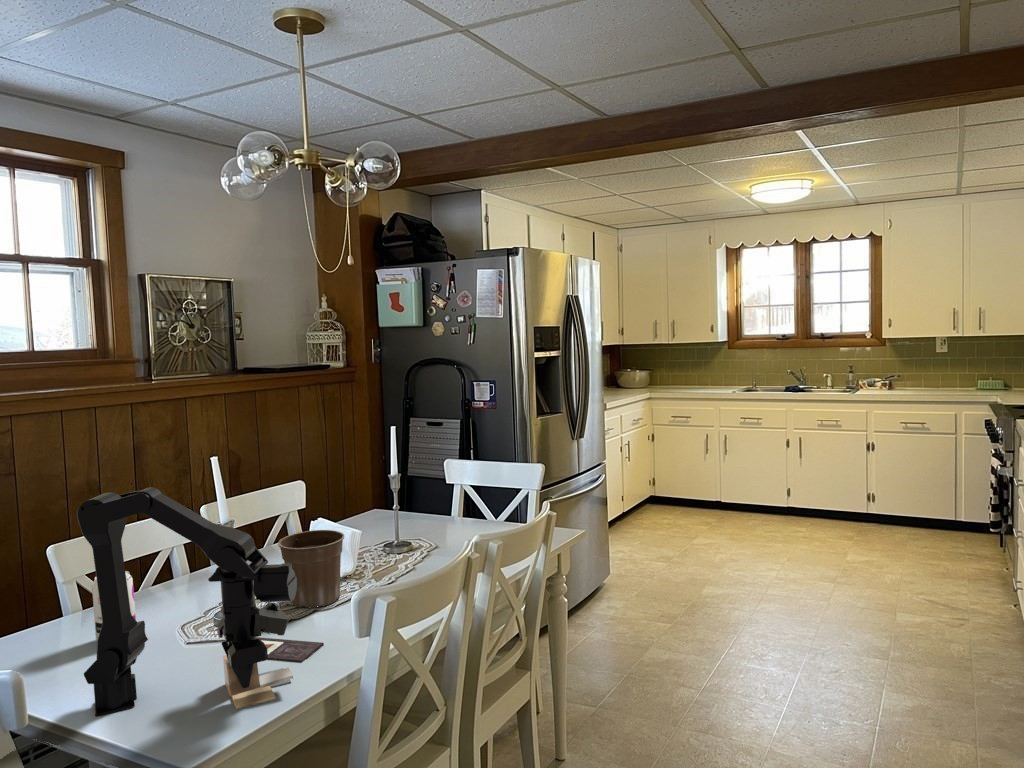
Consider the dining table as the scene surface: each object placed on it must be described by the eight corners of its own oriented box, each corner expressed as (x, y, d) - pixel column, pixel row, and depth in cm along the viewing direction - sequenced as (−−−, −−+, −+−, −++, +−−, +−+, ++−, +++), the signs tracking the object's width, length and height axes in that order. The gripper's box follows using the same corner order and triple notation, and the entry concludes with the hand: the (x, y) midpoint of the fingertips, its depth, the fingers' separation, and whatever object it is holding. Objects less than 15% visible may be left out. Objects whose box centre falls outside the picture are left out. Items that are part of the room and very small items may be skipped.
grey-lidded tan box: (232, 696, 141) (229, 670, 140) (229, 688, 144) (225, 662, 144) (293, 678, 146) (290, 653, 145) (288, 670, 149) (285, 645, 149)
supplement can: (129, 629, 181) (124, 567, 180) (142, 639, 175) (137, 574, 174) (91, 640, 175) (86, 576, 174) (103, 650, 169) (98, 584, 168)
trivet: (242, 695, 146) (242, 693, 146) (237, 680, 152) (237, 679, 152) (291, 683, 150) (291, 681, 150) (283, 669, 156) (283, 668, 156)
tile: (230, 697, 146) (227, 667, 145) (225, 685, 151) (223, 655, 150) (238, 695, 146) (236, 664, 146) (233, 683, 152) (231, 653, 151)
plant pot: (299, 617, 185) (295, 551, 184) (271, 601, 197) (267, 539, 196) (359, 599, 196) (356, 537, 194) (328, 585, 208) (325, 526, 206)
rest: (236, 709, 141) (235, 706, 141) (231, 698, 145) (231, 695, 145) (275, 699, 144) (275, 696, 144) (270, 688, 148) (269, 685, 148)
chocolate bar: (301, 660, 159) (226, 654, 164) (302, 665, 160) (227, 658, 164) (323, 642, 168) (251, 636, 173) (323, 646, 168) (251, 640, 173)
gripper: (294, 608, 138) (299, 692, 139) (273, 580, 154) (278, 655, 156) (228, 622, 133) (234, 709, 134) (214, 591, 149) (219, 669, 150)
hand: (244, 683), depth 144 cm, fingers closed on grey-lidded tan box, 3 cm apart
